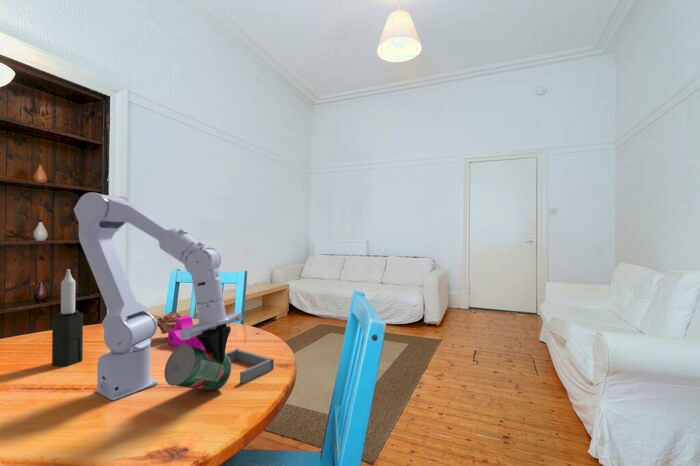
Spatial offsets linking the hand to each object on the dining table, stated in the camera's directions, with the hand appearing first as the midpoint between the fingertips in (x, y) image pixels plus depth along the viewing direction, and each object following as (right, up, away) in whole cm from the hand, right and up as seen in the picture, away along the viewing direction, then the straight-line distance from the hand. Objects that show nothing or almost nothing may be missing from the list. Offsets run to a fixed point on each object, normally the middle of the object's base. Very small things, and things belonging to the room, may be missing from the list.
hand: (219, 361), depth 74 cm
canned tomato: (-1, -4, +3) cm, 5 cm away
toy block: (-21, -7, +29) cm, 36 cm away
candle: (-46, -6, +14) cm, 49 cm away
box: (+1, -6, +11) cm, 12 cm away
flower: (-30, -6, +36) cm, 48 cm away
